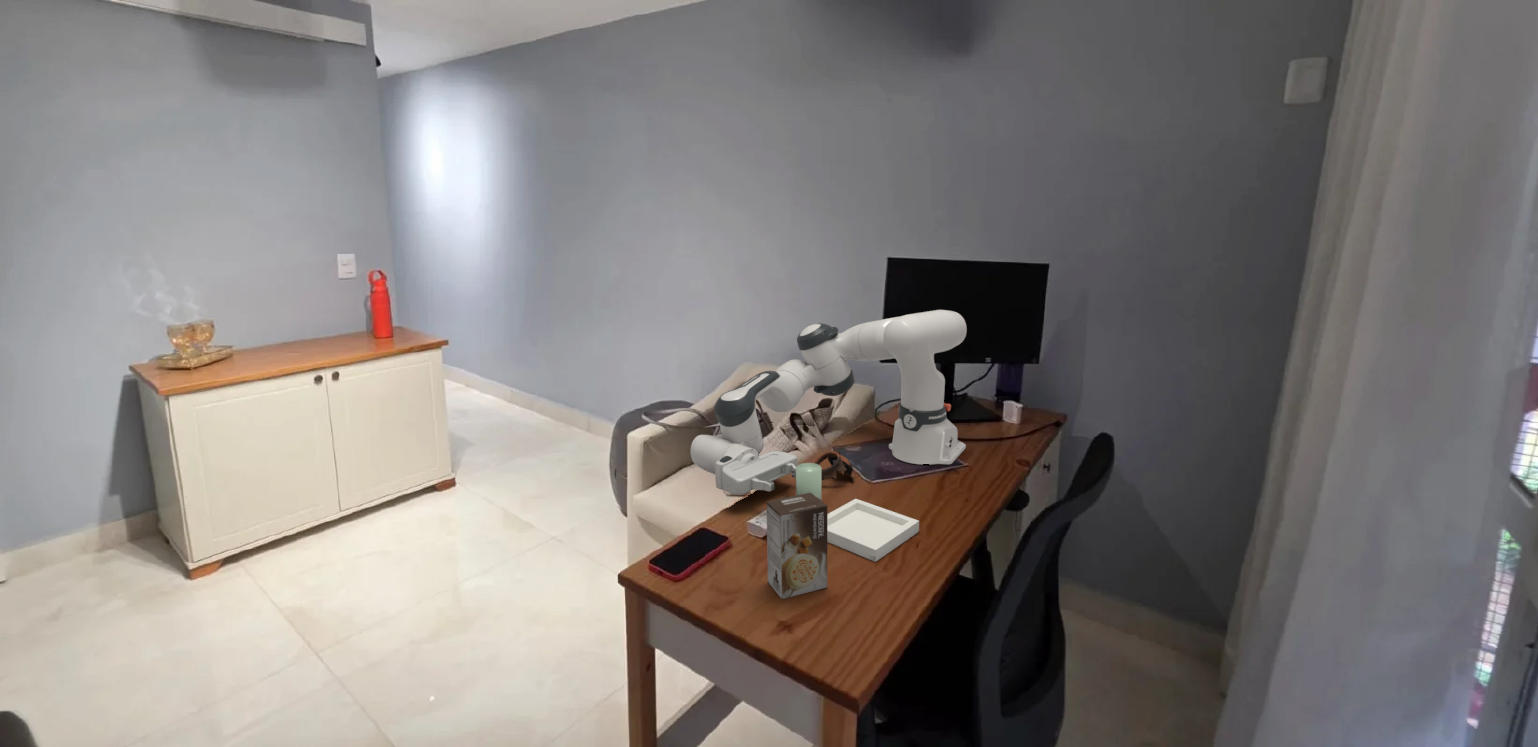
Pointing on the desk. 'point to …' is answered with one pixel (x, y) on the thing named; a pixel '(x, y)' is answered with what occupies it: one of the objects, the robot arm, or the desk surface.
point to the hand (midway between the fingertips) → (786, 480)
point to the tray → (868, 529)
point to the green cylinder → (809, 479)
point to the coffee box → (797, 544)
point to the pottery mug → (835, 465)
